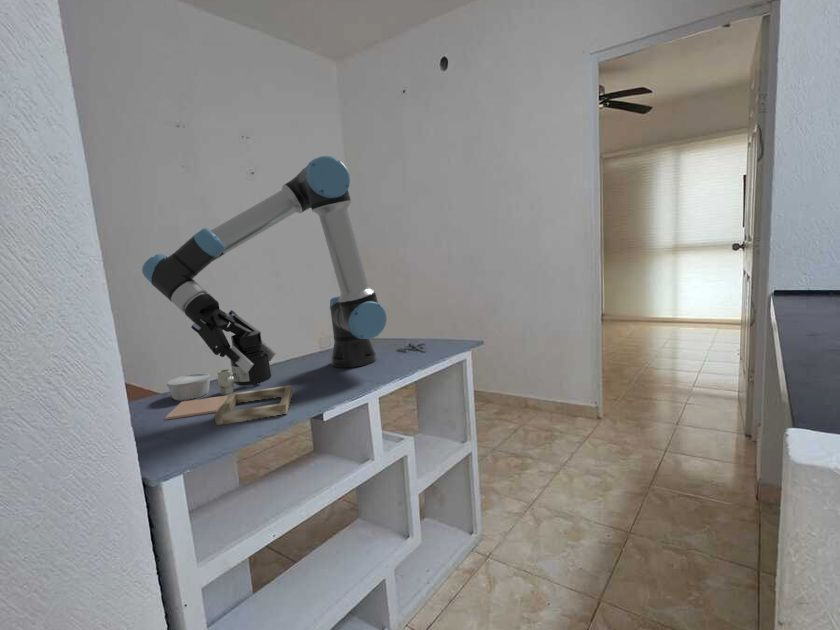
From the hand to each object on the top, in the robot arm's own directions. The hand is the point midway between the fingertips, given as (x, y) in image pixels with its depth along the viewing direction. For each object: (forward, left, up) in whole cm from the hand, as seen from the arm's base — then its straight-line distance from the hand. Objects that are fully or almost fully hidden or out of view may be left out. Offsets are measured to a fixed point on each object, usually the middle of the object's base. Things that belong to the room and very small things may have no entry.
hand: (261, 362), depth 108 cm
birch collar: (+3, -1, -12) cm, 12 cm away
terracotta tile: (+19, -9, -12) cm, 24 cm away
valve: (+11, -22, -12) cm, 28 cm away
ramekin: (+25, -22, -12) cm, 36 cm away
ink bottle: (+3, -1, -5) cm, 6 cm away
